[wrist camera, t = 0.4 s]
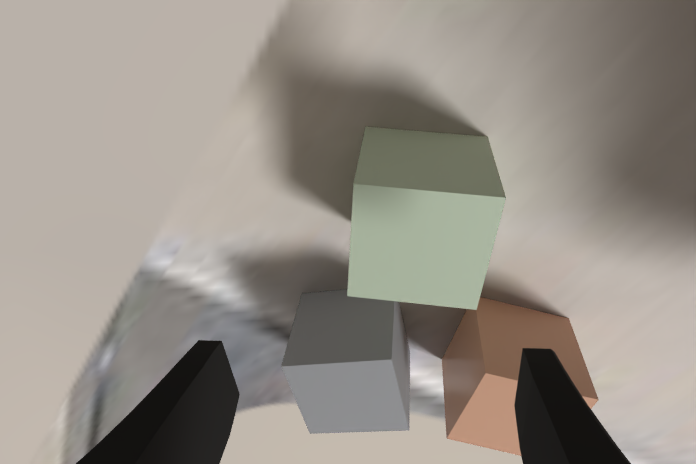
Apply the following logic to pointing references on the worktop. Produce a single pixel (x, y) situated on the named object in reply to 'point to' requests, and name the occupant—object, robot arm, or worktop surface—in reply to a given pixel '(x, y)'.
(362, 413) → the slate grey block
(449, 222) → the sage block
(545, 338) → the terracotta block
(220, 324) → the worktop surface
